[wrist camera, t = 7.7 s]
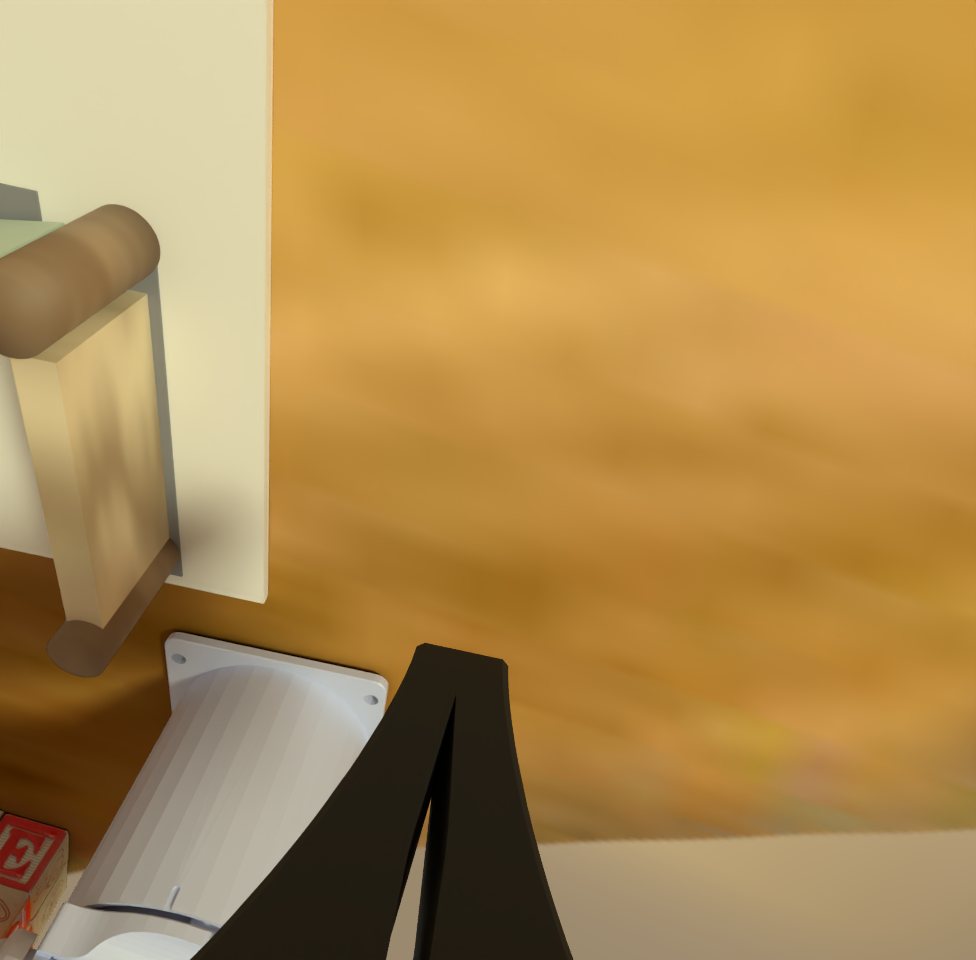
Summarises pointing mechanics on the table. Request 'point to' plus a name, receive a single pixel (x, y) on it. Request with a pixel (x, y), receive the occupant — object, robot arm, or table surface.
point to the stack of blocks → (30, 873)
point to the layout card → (181, 234)
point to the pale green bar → (22, 233)
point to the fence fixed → (91, 422)
